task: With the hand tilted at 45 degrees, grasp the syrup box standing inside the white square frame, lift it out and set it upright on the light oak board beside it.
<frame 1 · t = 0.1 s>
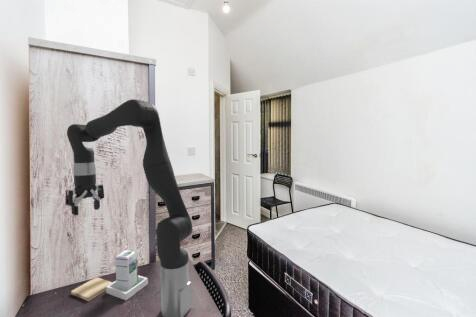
hand: (86, 212, 94), 29 cm above the table, tool pointing down, fingers open, 8 cm apart
white square frame: (127, 288, 90), on the table
oak board: (92, 289, 89), on the table
syrup box: (127, 288, 90), resting in white square frame
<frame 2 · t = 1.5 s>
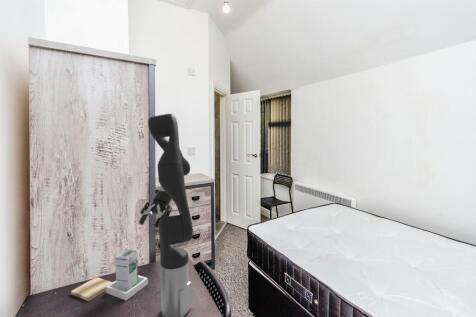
hand: (148, 225, 99), 22 cm above the table, tool tilted 45°, fingers open, 8 cm apart
nothing on the table moved.
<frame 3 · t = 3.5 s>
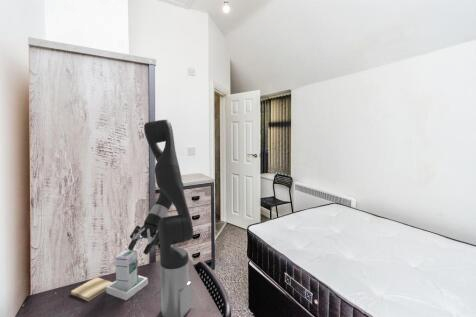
hand: (137, 251, 94), 13 cm above the table, tool tilted 45°, fingers open, 8 cm apart
nothing on the table moved.
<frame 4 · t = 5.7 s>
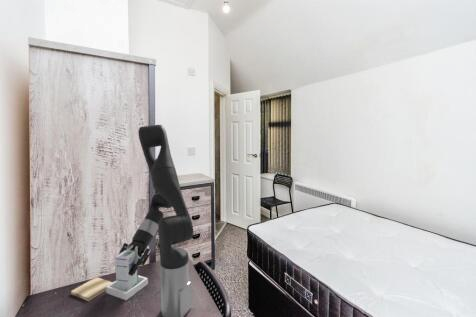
hand: (123, 272, 88), 7 cm above the table, tool tilted 45°, fingers closed on syrup box, 6 cm apart
syrup box: (127, 288, 90), resting in white square frame, touching gripper
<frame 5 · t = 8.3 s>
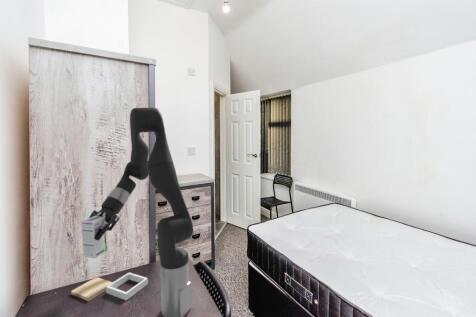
hand: (90, 237, 87), 21 cm above the table, tool tilted 45°, fingers closed on syrup box, 6 cm apart
syrup box: (95, 254, 89), point 14 cm above the table, touching gripper
when the fingers open (10 cm above the table, at t = 11.2 s): syrup box drops 1 cm, resting on oak board.
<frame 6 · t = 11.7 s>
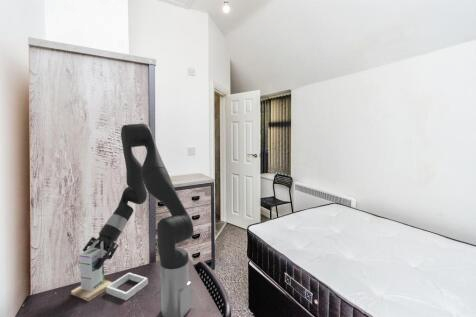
hand: (88, 266, 87), 10 cm above the table, tool tilted 45°, fingers open, 8 cm apart
syrup box: (93, 286, 89), point 1 cm above the table, touching oak board
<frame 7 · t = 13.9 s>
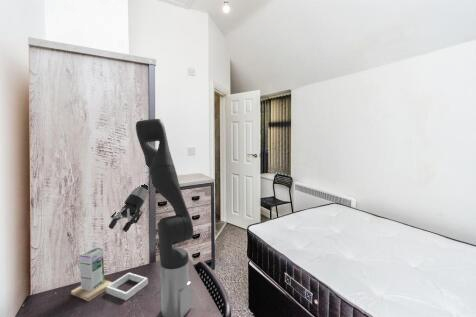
hand: (117, 229, 98), 20 cm above the table, tool tilted 45°, fingers open, 8 cm apart
nothing on the table moved.
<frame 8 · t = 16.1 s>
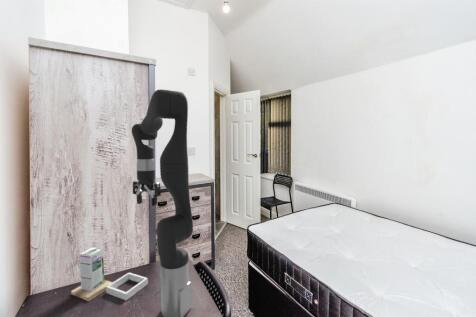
hand: (146, 204, 102), 30 cm above the table, tool pointing down, fingers open, 8 cm apart
nothing on the table moved.
at the end: syrup box 0.4 cm from the oak board (horizontally); syrup box point 1.0 cm above the table; syrup box tilted 0° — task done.
